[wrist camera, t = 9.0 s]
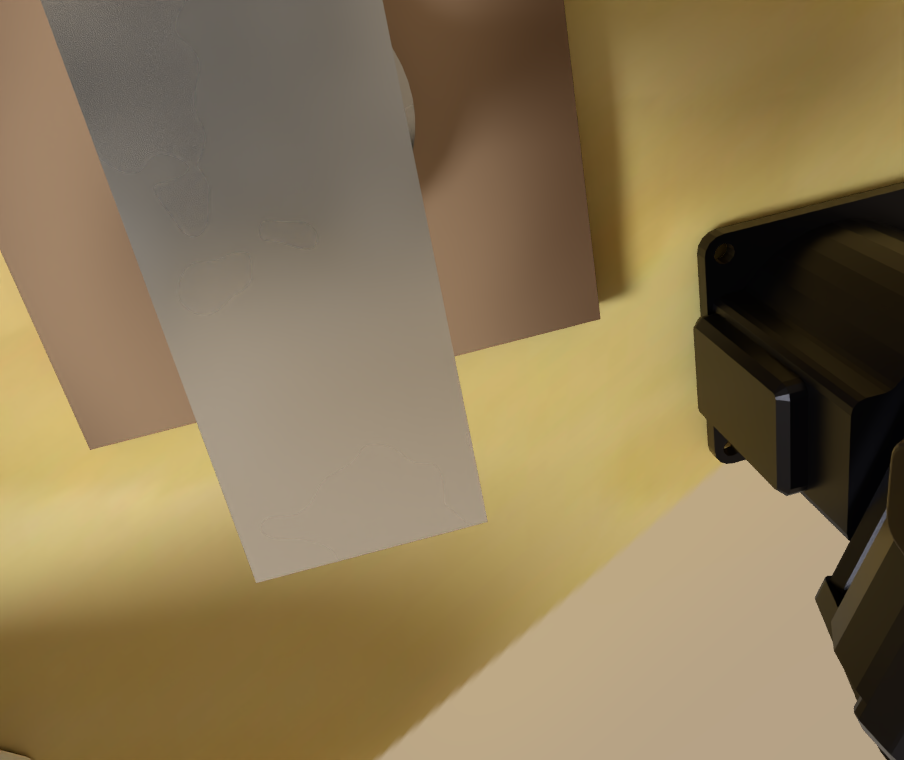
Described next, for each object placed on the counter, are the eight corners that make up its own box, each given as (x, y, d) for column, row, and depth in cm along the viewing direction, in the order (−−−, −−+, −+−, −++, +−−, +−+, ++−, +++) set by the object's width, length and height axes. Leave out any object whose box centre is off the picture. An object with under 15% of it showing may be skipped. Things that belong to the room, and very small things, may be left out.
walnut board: (515, -299, 16) (527, -311, 15) (589, 306, 21) (600, 318, 20) (-170, -170, 15) (-192, -177, 14) (96, 432, 20) (89, 449, 19)
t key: (442, 276, 19) (562, 501, 11) (218, 330, 19) (176, 604, 11) (360, -139, 15) (450, -245, 7) (79, -83, 15) (-142, -133, 7)
